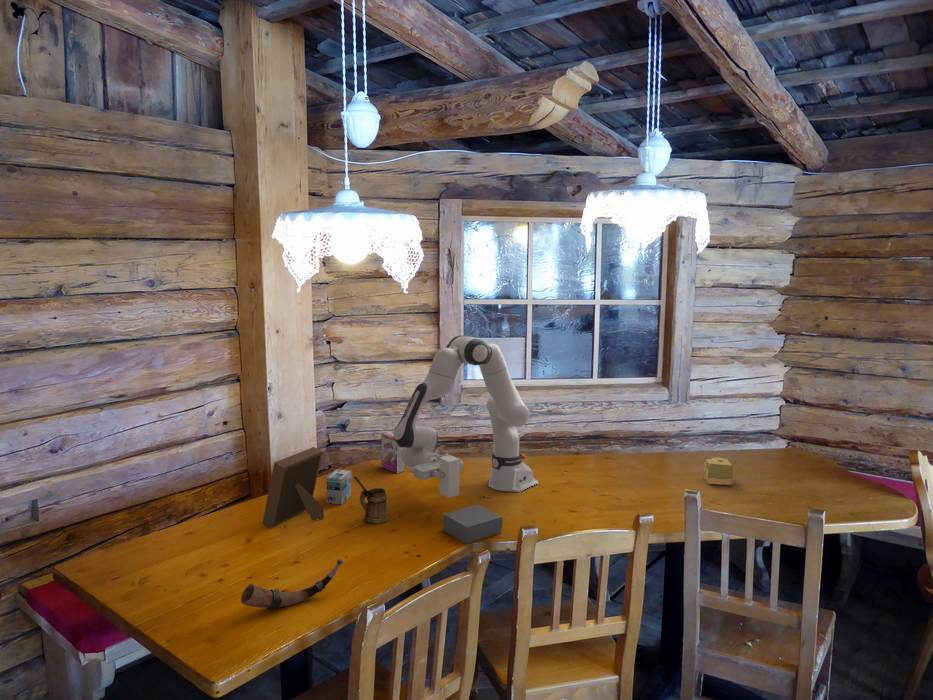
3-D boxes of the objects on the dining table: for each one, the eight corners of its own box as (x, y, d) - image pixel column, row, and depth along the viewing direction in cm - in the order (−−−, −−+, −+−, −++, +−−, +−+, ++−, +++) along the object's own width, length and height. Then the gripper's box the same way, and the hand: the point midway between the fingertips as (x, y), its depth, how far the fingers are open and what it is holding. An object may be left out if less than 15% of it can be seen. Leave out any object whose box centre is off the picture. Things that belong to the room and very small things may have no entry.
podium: (477, 519, 262) (477, 504, 261) (501, 532, 251) (502, 517, 250) (442, 529, 252) (443, 514, 251) (466, 543, 241) (467, 527, 241)
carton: (449, 490, 266) (450, 455, 264) (459, 494, 261) (459, 459, 259) (438, 493, 263) (439, 457, 261) (448, 497, 258) (448, 461, 256)
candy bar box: (380, 468, 318) (380, 433, 315) (388, 465, 321) (389, 431, 319) (396, 474, 310) (396, 438, 308) (404, 471, 314) (405, 436, 311)
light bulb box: (342, 505, 272) (342, 479, 271) (325, 503, 274) (325, 477, 272) (351, 495, 283) (351, 470, 281) (336, 494, 284) (336, 468, 282)
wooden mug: (350, 518, 260) (350, 472, 257) (384, 513, 266) (385, 468, 263) (356, 527, 252) (356, 480, 249) (392, 522, 258) (392, 475, 255)
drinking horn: (238, 613, 193) (238, 579, 192) (338, 585, 210) (338, 554, 208) (245, 622, 189) (244, 588, 187) (346, 593, 205) (346, 561, 204)
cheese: (702, 477, 318) (704, 456, 317) (726, 479, 317) (728, 457, 315) (706, 485, 308) (708, 463, 306) (732, 487, 307) (734, 465, 305)
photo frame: (262, 526, 251) (261, 459, 246) (301, 506, 270) (301, 444, 266) (294, 535, 244) (295, 467, 240) (332, 514, 264) (333, 451, 260)
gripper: (406, 461, 264) (427, 471, 253) (450, 451, 276) (471, 460, 266) (406, 477, 265) (427, 488, 254) (450, 467, 277) (471, 476, 267)
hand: (450, 474), depth 260 cm, fingers closed on carton, 5 cm apart
